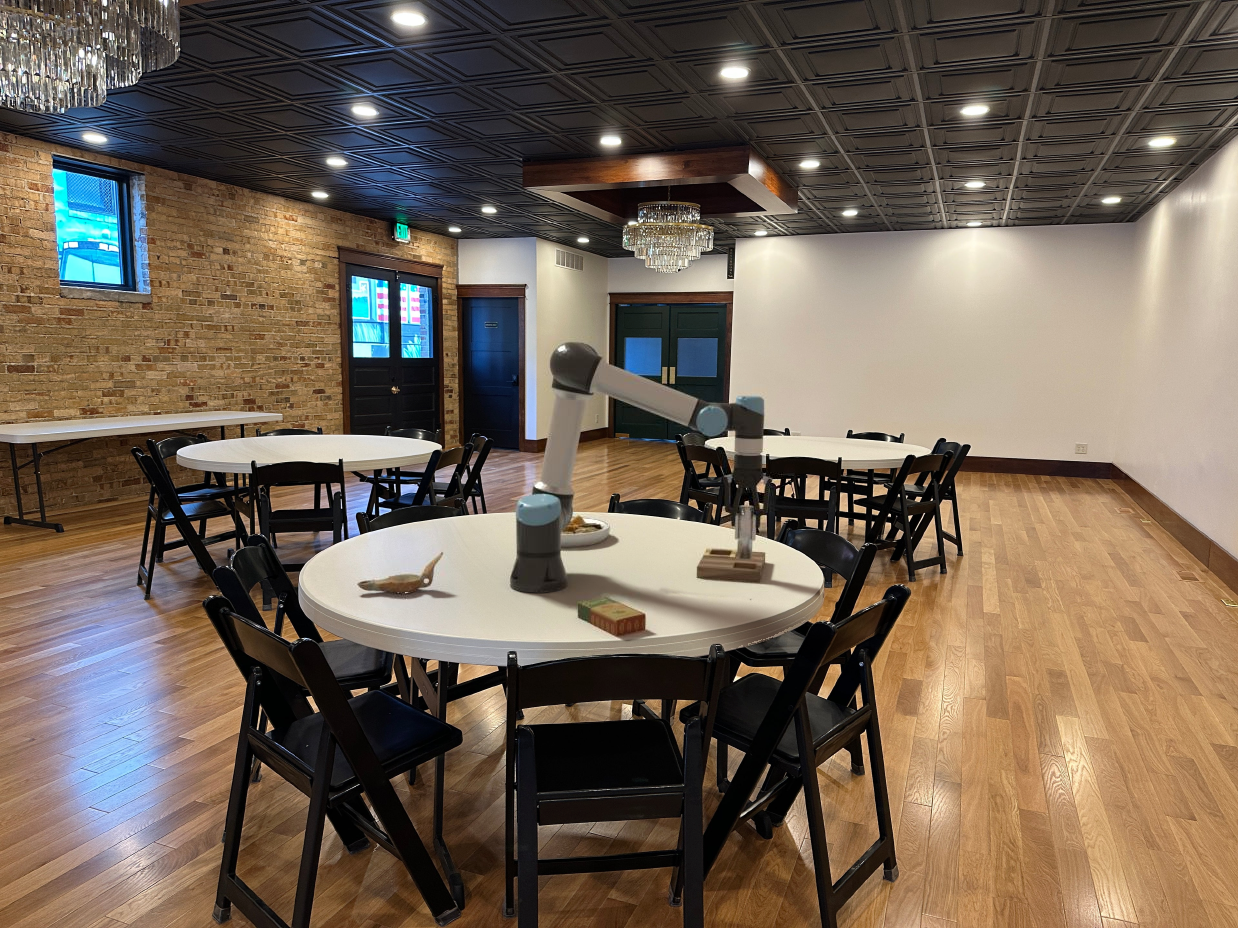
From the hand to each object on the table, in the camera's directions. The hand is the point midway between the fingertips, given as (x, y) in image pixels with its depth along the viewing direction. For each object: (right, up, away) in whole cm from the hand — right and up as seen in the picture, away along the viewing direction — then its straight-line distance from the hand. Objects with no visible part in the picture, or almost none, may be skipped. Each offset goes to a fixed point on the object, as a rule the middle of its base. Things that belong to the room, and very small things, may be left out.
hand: (745, 538), depth 218 cm
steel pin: (0, -5, +1) cm, 5 cm away
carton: (-36, -17, -36) cm, 54 cm away
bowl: (-52, -5, +50) cm, 73 cm away
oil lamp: (-90, -13, -13) cm, 92 cm away
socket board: (-2, -10, +8) cm, 14 cm away
